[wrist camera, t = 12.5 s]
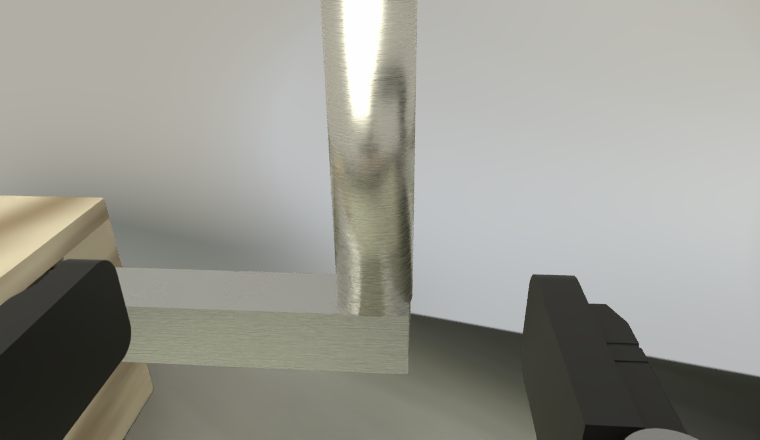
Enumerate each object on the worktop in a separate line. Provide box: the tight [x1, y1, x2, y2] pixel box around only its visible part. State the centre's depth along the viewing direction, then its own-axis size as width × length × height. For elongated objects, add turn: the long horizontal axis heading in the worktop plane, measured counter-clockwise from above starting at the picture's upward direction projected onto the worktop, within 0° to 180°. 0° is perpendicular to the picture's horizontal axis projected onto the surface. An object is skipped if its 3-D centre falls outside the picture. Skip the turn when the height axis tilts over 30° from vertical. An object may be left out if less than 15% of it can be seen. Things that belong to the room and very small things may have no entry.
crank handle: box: [25, 0, 417, 374], centre depth 22 cm, size 22×3×15 cm, turn 86°
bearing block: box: [0, 196, 153, 440], centre depth 27 cm, size 6×12×14 cm, turn 176°
